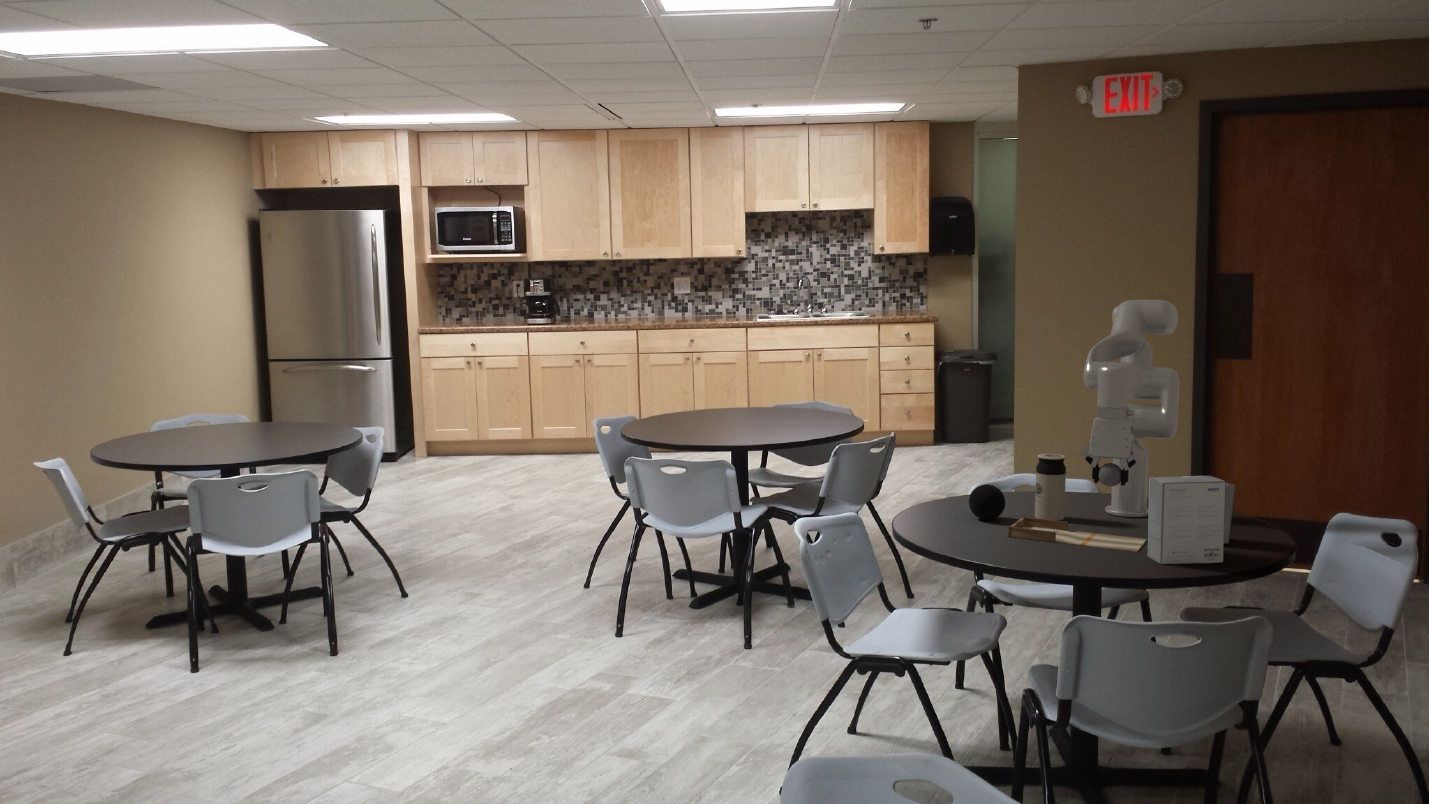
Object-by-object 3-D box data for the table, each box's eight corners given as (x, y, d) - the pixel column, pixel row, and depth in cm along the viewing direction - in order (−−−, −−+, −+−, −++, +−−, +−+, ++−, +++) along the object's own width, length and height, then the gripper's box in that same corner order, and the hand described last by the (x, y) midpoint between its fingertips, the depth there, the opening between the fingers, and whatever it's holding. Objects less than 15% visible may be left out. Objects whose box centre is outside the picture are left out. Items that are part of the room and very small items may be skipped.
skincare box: (1185, 538, 279) (1188, 478, 277) (1207, 536, 282) (1209, 476, 280) (1211, 546, 271) (1214, 484, 270) (1232, 543, 274) (1236, 482, 272)
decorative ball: (996, 525, 295) (997, 489, 294) (962, 520, 301) (963, 485, 300) (1010, 518, 303) (1011, 483, 302) (977, 514, 309) (977, 480, 308)
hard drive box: (1208, 555, 263) (1212, 475, 260) (1224, 563, 255) (1228, 481, 253) (1145, 556, 262) (1148, 476, 260) (1159, 564, 254) (1163, 482, 252)
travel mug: (1060, 515, 307) (1062, 453, 305) (1067, 521, 299) (1069, 458, 297) (1032, 515, 308) (1034, 453, 305) (1037, 521, 300) (1039, 457, 298)
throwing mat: (1022, 526, 294) (1023, 516, 294) (1146, 540, 278) (1147, 530, 277) (1008, 536, 282) (1008, 527, 282) (1137, 552, 266) (1137, 542, 266)
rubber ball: (1099, 483, 278) (1100, 460, 278) (1124, 485, 276) (1125, 462, 275) (1095, 487, 273) (1096, 464, 273) (1120, 489, 270) (1121, 466, 270)
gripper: (1150, 413, 271) (1148, 484, 273) (1080, 410, 280) (1078, 478, 282) (1146, 417, 265) (1143, 489, 267) (1074, 413, 273) (1072, 483, 275)
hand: (1109, 482), depth 274 cm, fingers closed on rubber ball, 5 cm apart
